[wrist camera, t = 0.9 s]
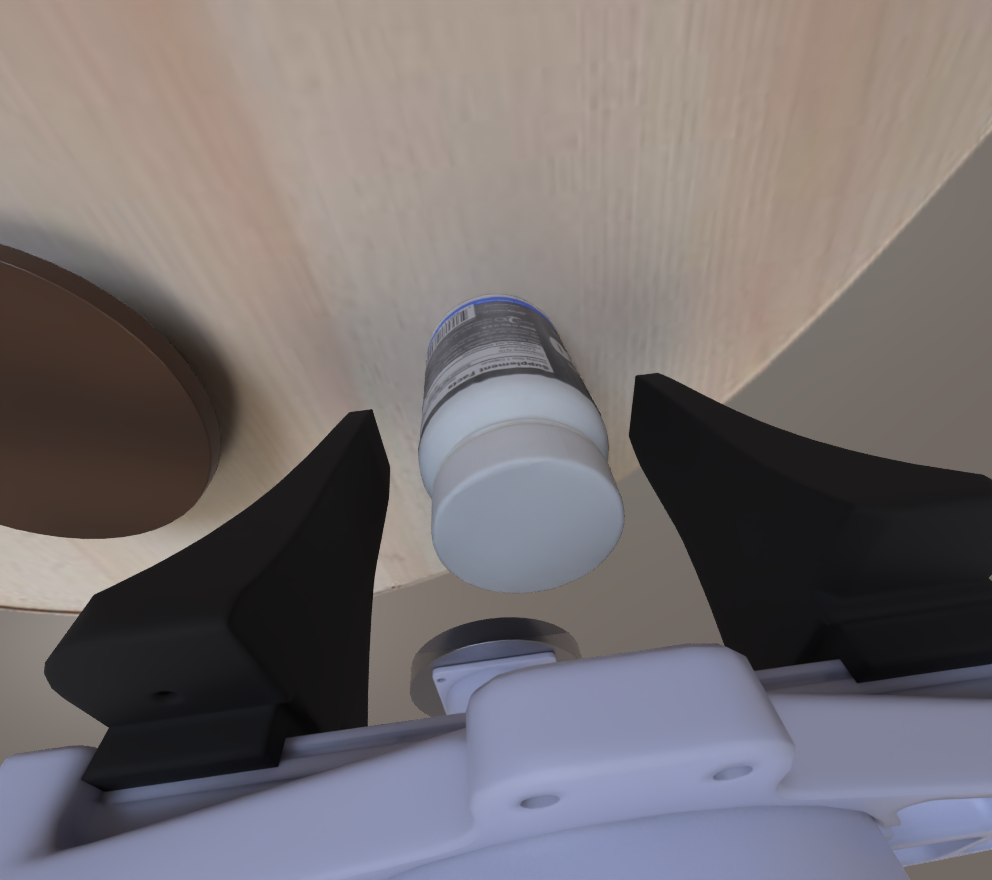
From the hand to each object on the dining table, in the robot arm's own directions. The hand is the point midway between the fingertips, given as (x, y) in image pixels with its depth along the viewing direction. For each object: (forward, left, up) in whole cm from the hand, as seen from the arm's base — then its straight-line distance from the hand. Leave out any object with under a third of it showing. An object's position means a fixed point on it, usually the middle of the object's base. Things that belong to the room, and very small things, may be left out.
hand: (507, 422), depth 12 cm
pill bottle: (0, 0, -5) cm, 5 cm away
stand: (+1, +14, -4) cm, 15 cm away
